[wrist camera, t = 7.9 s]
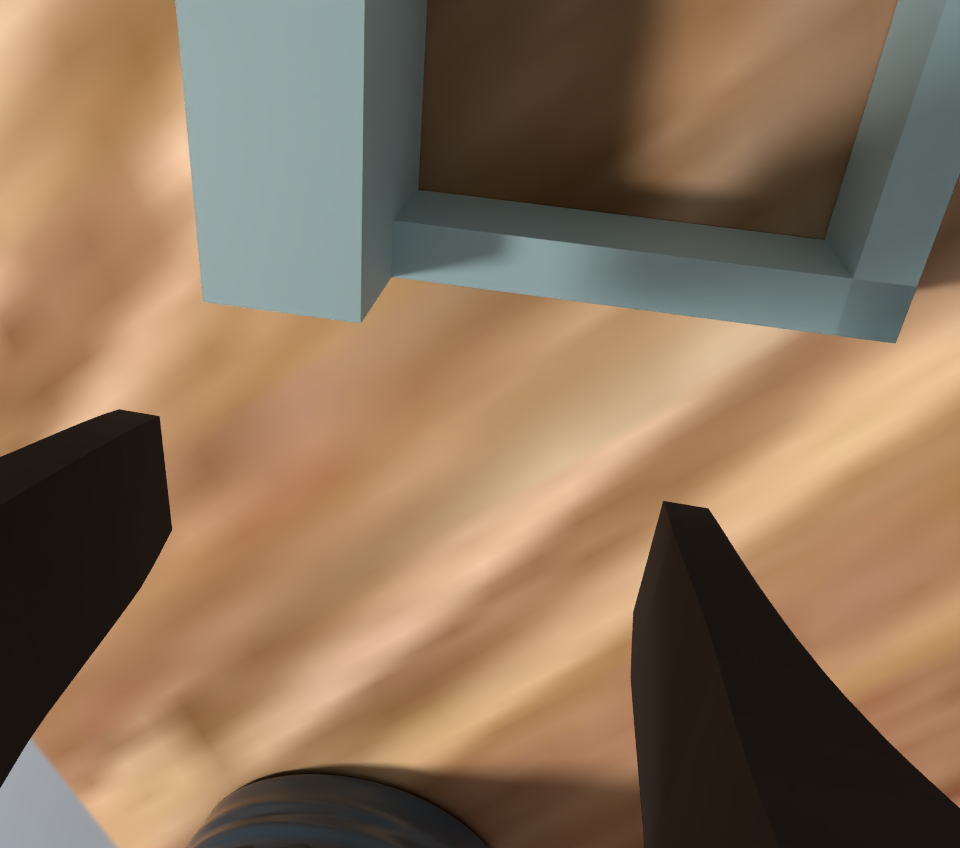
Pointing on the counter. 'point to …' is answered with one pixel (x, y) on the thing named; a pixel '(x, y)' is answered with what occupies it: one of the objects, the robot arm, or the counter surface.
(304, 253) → the link
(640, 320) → the counter surface
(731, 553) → the robot arm
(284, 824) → the canister
